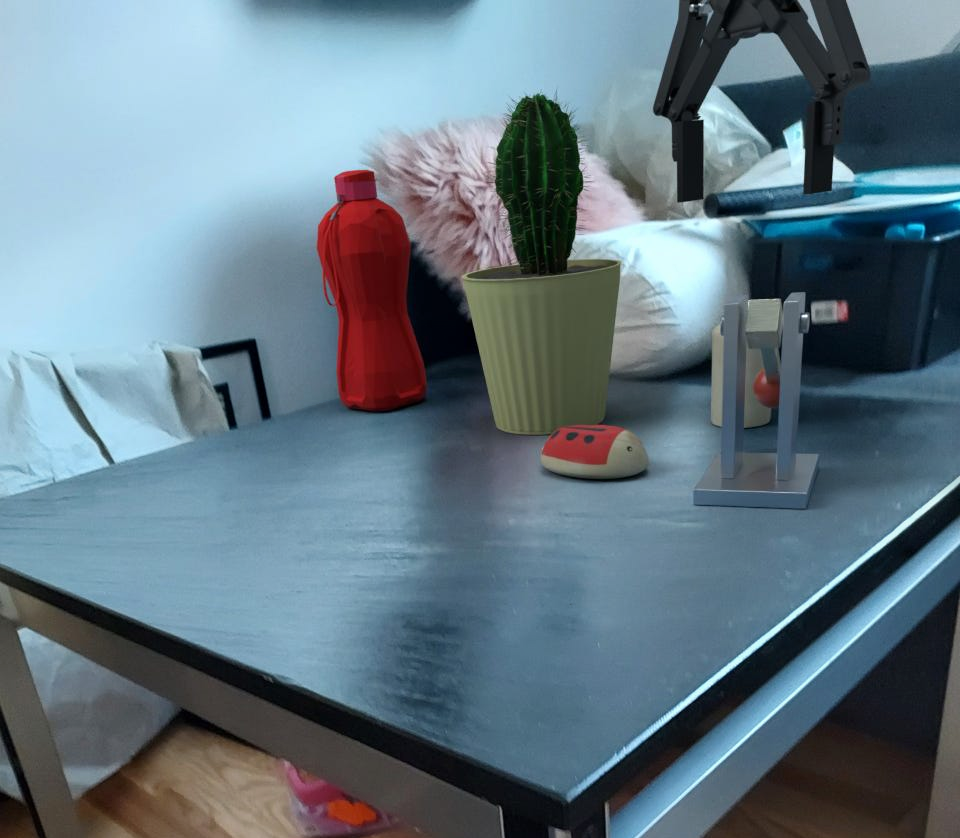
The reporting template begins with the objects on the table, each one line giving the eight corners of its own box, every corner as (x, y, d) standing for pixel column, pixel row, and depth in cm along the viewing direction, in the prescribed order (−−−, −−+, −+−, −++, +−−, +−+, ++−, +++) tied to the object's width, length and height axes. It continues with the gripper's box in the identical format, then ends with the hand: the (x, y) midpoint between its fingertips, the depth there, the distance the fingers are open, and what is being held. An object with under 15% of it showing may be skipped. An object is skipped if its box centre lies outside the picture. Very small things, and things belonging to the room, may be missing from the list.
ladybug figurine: (630, 486, 76) (630, 442, 74) (523, 477, 81) (520, 436, 79) (662, 463, 81) (662, 421, 79) (558, 455, 86) (556, 416, 84)
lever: (753, 415, 80) (757, 374, 81) (797, 415, 79) (802, 373, 79) (733, 340, 67) (739, 292, 68) (786, 338, 66) (792, 289, 66)
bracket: (716, 466, 79) (720, 290, 73) (818, 468, 76) (830, 285, 70) (693, 504, 71) (694, 310, 65) (805, 509, 68) (818, 306, 62)
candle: (700, 420, 93) (702, 313, 88) (751, 411, 94) (755, 305, 90) (728, 432, 88) (731, 319, 84) (781, 423, 89) (787, 311, 85)
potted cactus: (465, 414, 104) (435, 101, 91) (601, 397, 106) (591, 87, 93) (488, 448, 90) (457, 86, 77) (644, 428, 92) (640, 69, 79)
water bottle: (318, 412, 112) (280, 177, 101) (387, 392, 119) (357, 170, 108) (370, 419, 106) (335, 171, 95) (439, 398, 113) (414, 164, 102)
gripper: (608, -66, 81) (617, 207, 90) (874, -166, 62) (851, 193, 71) (670, -63, 84) (672, 200, 93) (938, -156, 66) (909, 184, 75)
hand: (750, 197), depth 82 cm, fingers open, 13 cm apart
